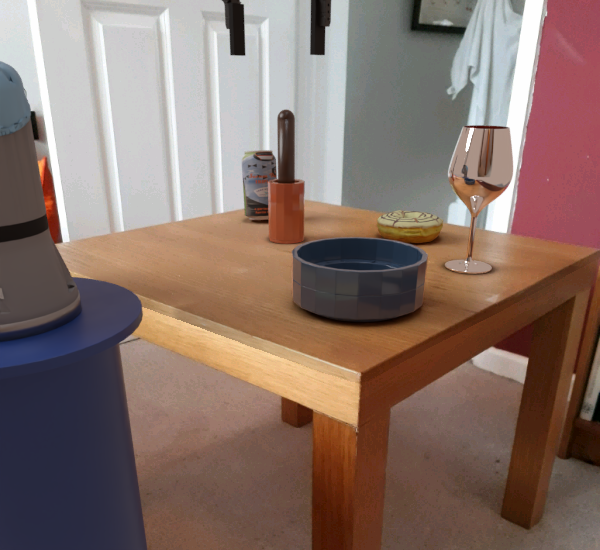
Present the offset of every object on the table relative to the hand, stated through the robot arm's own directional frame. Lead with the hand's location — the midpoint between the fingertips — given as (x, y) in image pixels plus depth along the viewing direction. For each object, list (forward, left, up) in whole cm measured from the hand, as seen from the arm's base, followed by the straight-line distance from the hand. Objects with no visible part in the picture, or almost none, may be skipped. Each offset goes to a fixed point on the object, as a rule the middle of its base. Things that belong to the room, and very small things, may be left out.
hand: (276, 55), depth 90 cm
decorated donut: (+17, +13, -26) cm, 34 cm away
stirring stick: (+1, +1, -26) cm, 26 cm away
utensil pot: (+1, +1, -26) cm, 26 cm away
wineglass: (+31, +1, -26) cm, 41 cm away
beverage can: (-11, +11, -26) cm, 30 cm away
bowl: (+25, -21, -26) cm, 42 cm away
